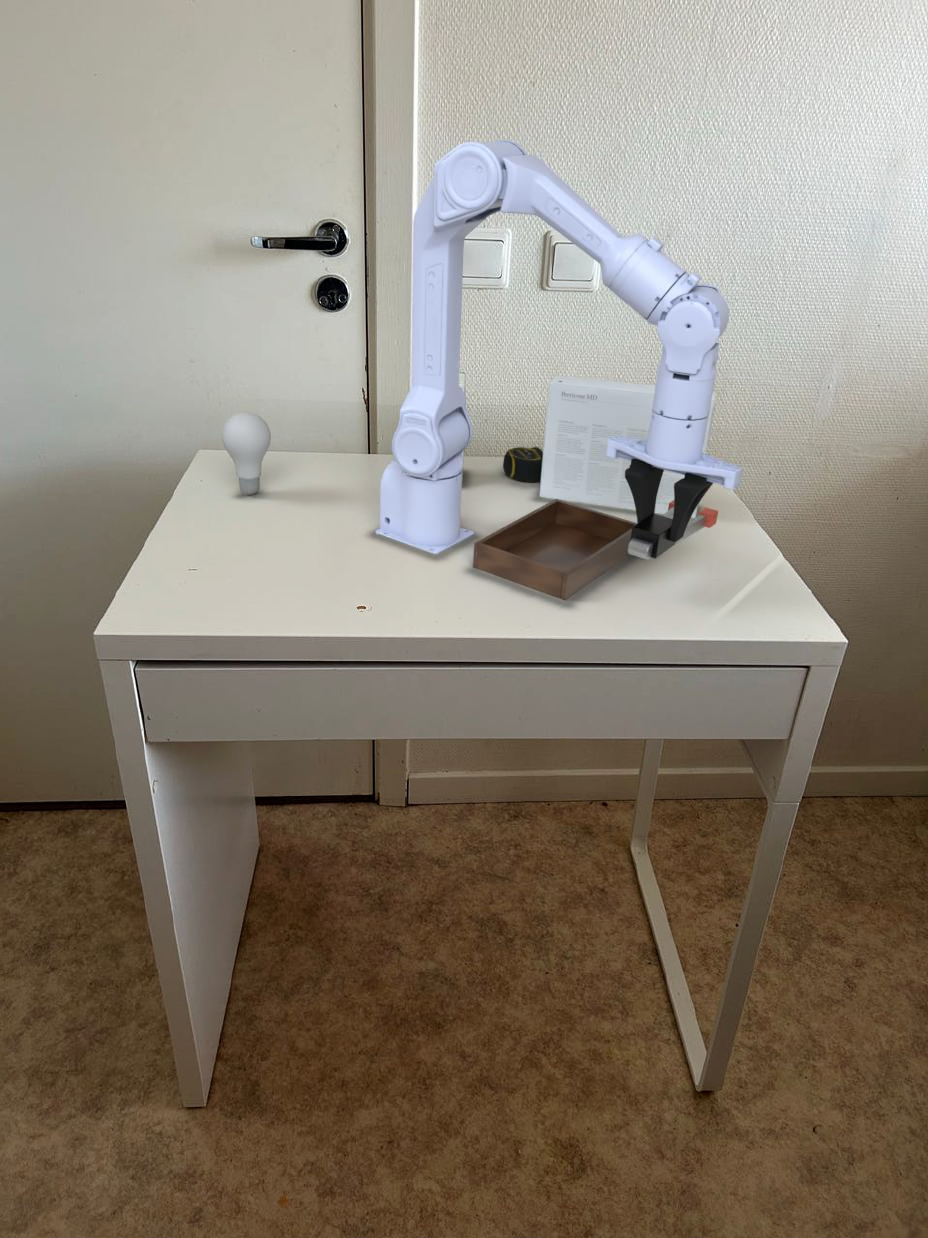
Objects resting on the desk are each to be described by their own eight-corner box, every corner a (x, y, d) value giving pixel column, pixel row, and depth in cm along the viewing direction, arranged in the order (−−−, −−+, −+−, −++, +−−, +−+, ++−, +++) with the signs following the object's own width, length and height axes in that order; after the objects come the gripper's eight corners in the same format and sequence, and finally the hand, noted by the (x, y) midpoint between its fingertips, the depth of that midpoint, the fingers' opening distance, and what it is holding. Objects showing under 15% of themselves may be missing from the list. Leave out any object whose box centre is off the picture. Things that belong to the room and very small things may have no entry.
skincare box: (697, 506, 129) (717, 390, 122) (695, 521, 125) (717, 401, 117) (544, 485, 133) (554, 372, 126) (537, 499, 129) (547, 382, 121)
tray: (472, 570, 109) (474, 542, 107) (553, 524, 122) (555, 498, 120) (564, 604, 103) (567, 575, 101) (639, 551, 116) (643, 524, 114)
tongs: (716, 523, 110) (720, 500, 109) (659, 566, 99) (663, 542, 98) (673, 511, 113) (677, 488, 111) (613, 551, 102) (616, 527, 101)
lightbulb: (283, 493, 126) (279, 412, 121) (251, 507, 122) (245, 423, 116) (249, 482, 129) (244, 402, 124) (216, 495, 125) (209, 413, 119)
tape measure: (557, 485, 134) (560, 460, 132) (512, 488, 132) (514, 462, 130) (539, 468, 139) (542, 443, 137) (495, 471, 137) (497, 446, 135)
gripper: (762, 418, 97) (737, 540, 103) (634, 389, 104) (618, 505, 110) (736, 434, 92) (711, 562, 98) (603, 403, 99) (588, 524, 105)
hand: (660, 533), depth 104 cm, fingers closed on tongs, 3 cm apart
